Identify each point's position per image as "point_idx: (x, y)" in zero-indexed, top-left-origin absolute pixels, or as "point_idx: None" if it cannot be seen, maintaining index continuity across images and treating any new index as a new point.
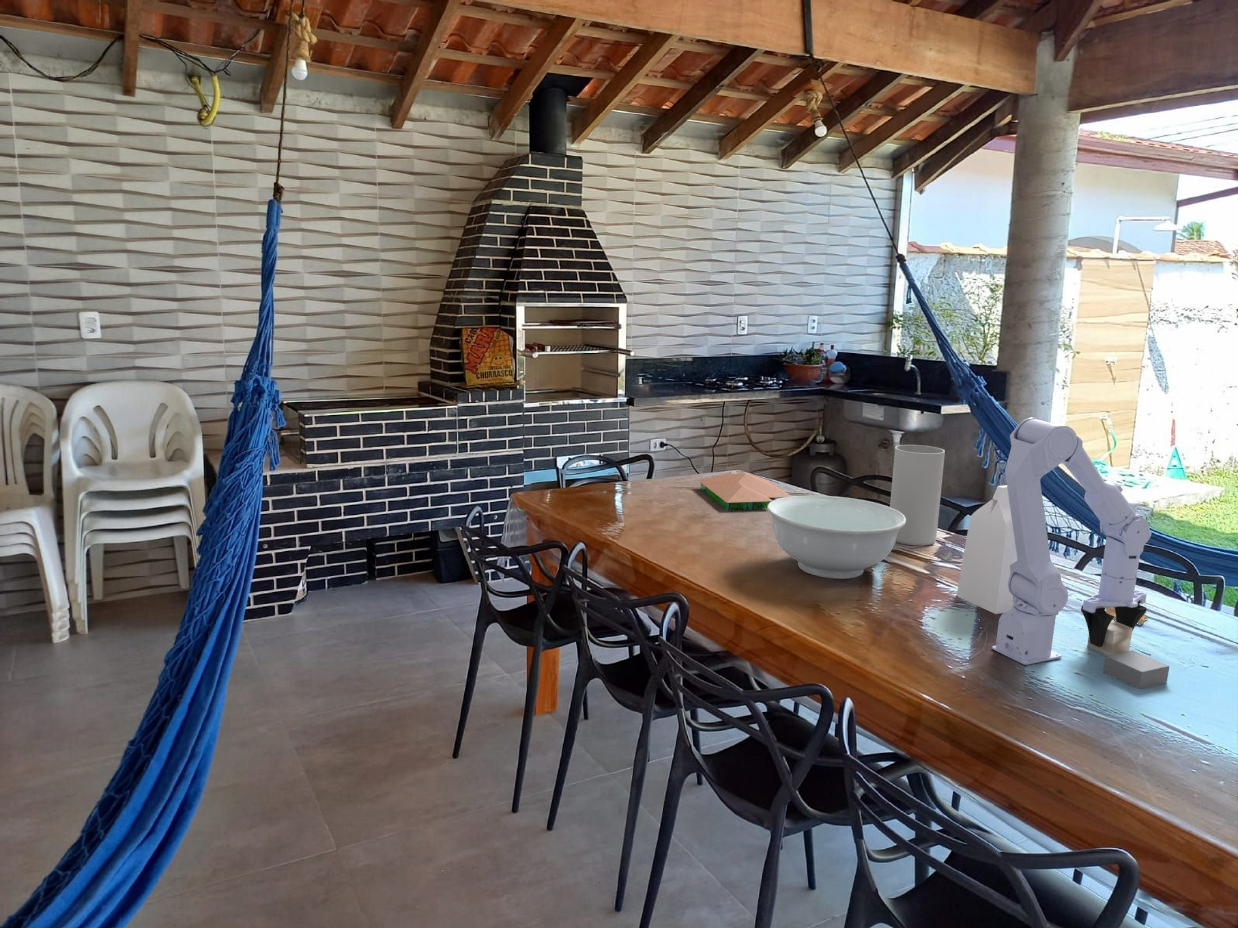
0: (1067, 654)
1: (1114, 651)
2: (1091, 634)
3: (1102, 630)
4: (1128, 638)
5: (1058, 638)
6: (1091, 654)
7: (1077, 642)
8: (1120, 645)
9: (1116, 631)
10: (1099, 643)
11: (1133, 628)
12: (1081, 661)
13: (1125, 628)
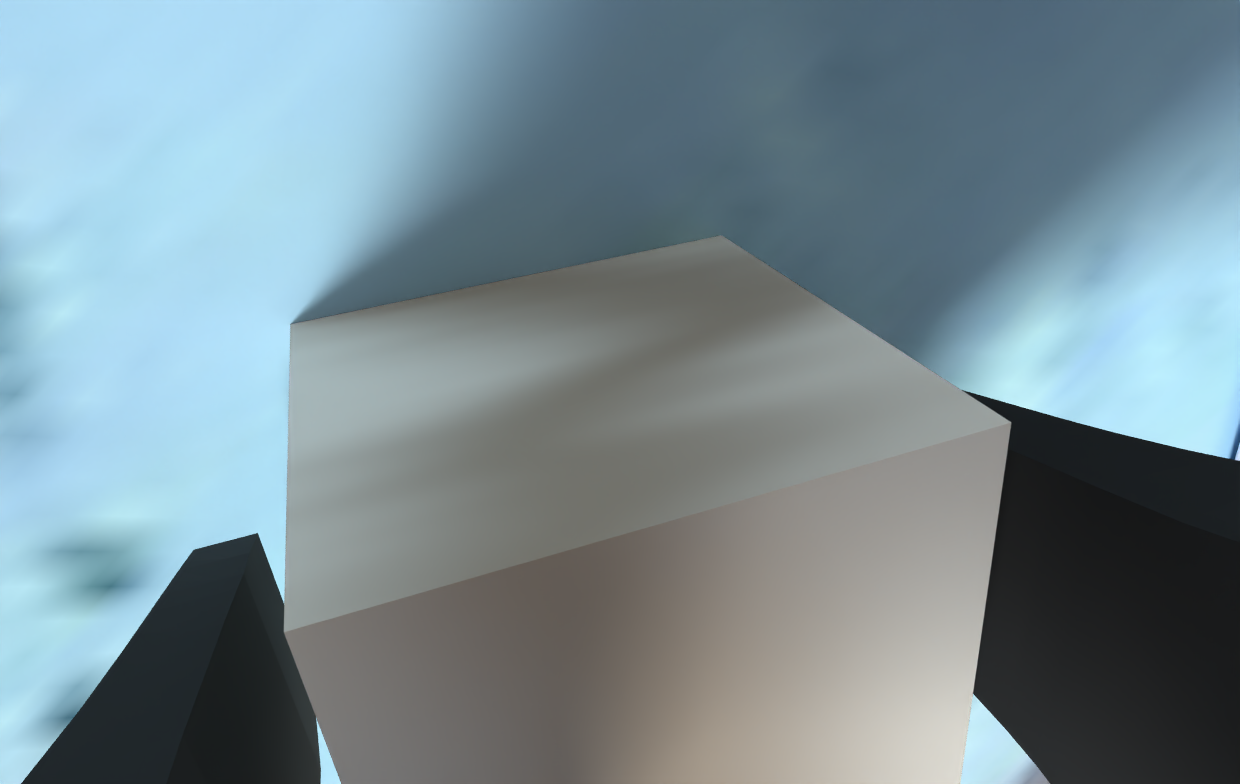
0: (1132, 367)
1: (684, 269)
2: None
3: (1233, 464)
4: (388, 436)
5: None
6: (901, 334)
7: None
8: (581, 333)
9: (937, 439)
10: None
11: (70, 745)
12: (1186, 163)
13: (537, 607)
